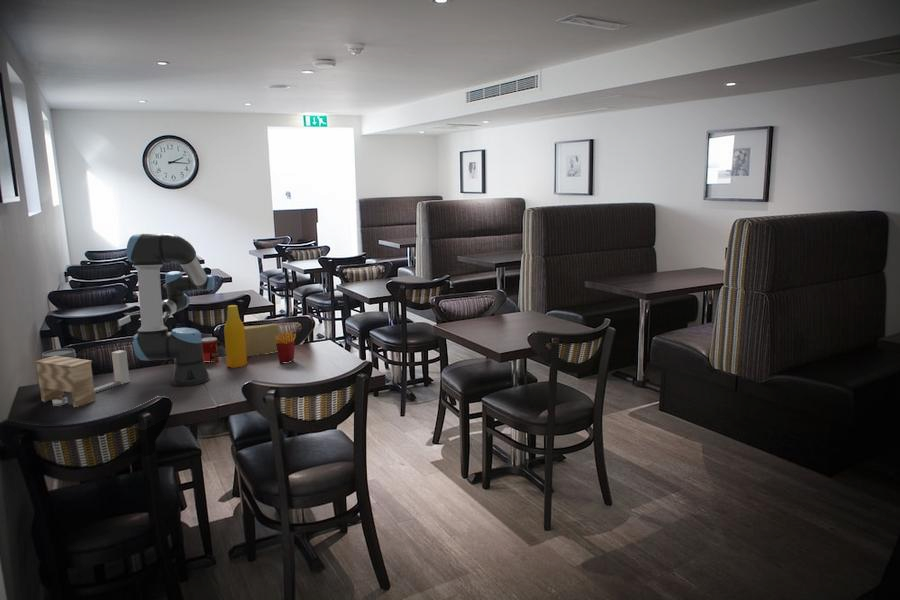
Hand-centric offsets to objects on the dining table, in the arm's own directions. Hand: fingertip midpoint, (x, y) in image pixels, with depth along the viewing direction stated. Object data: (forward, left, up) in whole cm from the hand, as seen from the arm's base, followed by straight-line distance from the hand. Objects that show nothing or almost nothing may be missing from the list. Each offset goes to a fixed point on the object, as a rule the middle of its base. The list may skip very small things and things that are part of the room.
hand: (132, 324), depth 268 cm
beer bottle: (-30, -30, -25) cm, 49 cm away
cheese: (-27, -50, -25) cm, 62 cm away
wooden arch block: (0, +16, -24) cm, 29 cm away
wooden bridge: (0, +33, -24) cm, 41 cm away
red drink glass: (-12, -32, -25) cm, 42 cm away
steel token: (0, +37, -25) cm, 44 cm away
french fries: (-48, -44, -25) cm, 69 cm away
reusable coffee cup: (+21, +20, -25) cm, 38 cm away
